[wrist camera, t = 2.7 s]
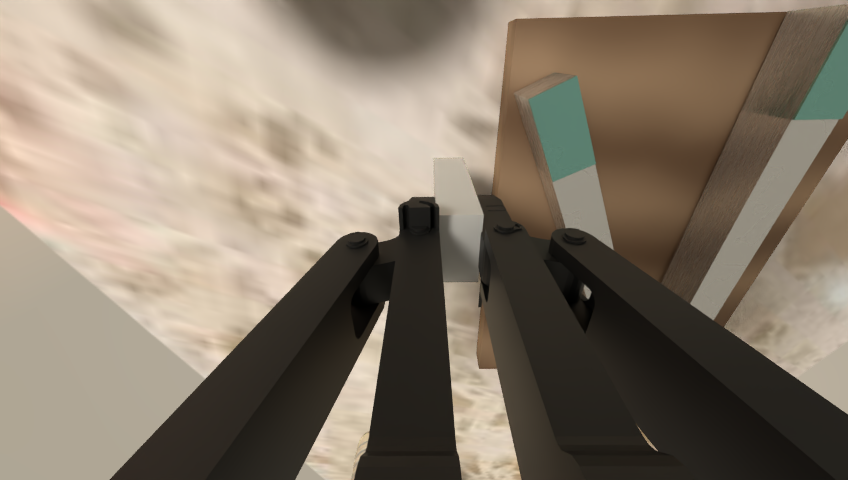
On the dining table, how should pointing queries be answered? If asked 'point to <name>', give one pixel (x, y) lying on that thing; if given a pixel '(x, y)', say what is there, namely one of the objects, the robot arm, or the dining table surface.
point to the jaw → (564, 154)
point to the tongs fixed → (765, 155)
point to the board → (643, 126)
